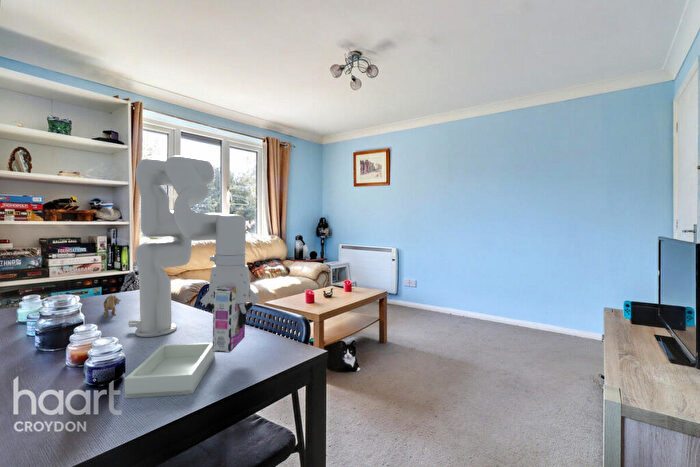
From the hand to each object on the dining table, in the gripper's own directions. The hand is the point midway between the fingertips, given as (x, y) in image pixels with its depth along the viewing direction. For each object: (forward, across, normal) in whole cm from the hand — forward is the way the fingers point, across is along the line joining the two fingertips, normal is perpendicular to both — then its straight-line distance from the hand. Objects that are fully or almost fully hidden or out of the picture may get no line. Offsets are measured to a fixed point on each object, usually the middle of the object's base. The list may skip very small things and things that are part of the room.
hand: (230, 326), depth 91 cm
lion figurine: (+13, -58, +56) cm, 82 cm away
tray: (+11, -12, -5) cm, 17 cm away
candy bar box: (+5, 0, 0) cm, 5 cm away
